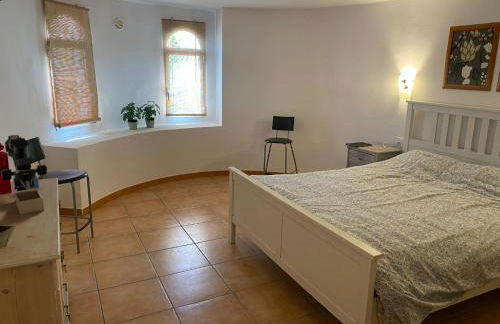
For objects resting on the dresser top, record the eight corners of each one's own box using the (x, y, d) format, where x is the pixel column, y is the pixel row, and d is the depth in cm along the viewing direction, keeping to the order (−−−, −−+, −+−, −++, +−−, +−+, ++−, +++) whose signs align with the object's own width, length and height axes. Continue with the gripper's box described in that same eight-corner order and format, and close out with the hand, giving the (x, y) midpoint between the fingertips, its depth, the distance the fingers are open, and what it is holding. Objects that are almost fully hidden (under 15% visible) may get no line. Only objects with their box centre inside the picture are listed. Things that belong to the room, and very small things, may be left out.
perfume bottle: (30, 191, 208) (27, 170, 205) (21, 190, 209) (18, 170, 206) (39, 188, 214) (36, 168, 211) (29, 187, 215) (26, 167, 212)
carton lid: (14, 193, 184) (13, 184, 184) (37, 190, 190) (36, 181, 190) (16, 192, 173) (15, 182, 173) (41, 188, 179) (39, 179, 179)
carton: (16, 206, 186) (14, 193, 184) (39, 202, 192) (37, 190, 190) (20, 214, 175) (18, 202, 174) (44, 210, 181) (42, 197, 180)
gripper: (-2, 153, 172) (4, 182, 166) (43, 148, 183) (50, 175, 177) (-1, 166, 180) (5, 194, 174) (43, 161, 191) (49, 187, 185)
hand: (28, 187), depth 177 cm, fingers closed on carton lid
